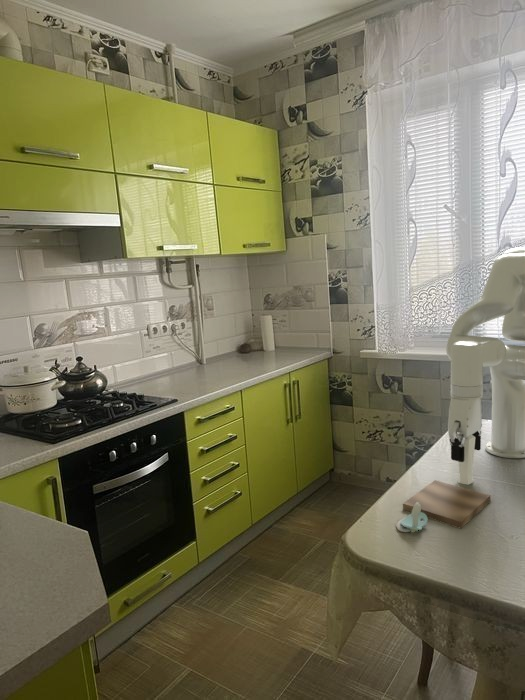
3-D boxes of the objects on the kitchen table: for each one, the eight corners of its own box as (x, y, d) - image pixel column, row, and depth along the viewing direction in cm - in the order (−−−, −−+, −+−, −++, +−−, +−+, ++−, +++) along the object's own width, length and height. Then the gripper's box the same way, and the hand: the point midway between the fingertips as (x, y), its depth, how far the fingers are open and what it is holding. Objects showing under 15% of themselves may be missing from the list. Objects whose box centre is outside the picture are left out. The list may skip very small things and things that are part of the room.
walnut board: (435, 485, 132) (435, 480, 132) (490, 501, 122) (490, 495, 122) (402, 509, 121) (402, 503, 121) (460, 528, 111) (460, 522, 111)
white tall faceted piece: (475, 485, 130) (476, 429, 128) (457, 484, 132) (457, 428, 129) (474, 478, 135) (474, 423, 132) (456, 477, 136) (456, 422, 134)
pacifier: (391, 532, 112) (418, 539, 108) (390, 505, 111) (417, 511, 107) (404, 517, 118) (430, 523, 114) (403, 492, 117) (429, 497, 113)
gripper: (466, 381, 138) (466, 442, 141) (436, 396, 126) (436, 462, 129) (495, 384, 132) (494, 447, 135) (466, 400, 120) (465, 469, 123)
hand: (466, 454), depth 132 cm, fingers open, 9 cm apart
